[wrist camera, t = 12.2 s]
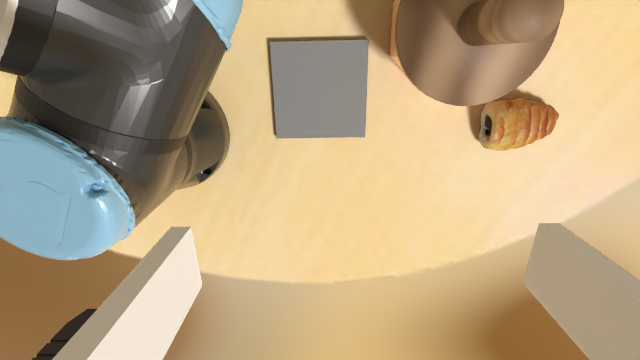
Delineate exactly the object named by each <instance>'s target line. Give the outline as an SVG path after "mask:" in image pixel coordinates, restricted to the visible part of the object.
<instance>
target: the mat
mask: <svg viewBox="0 0 640 360" xmlns="http://www.w3.org/2000/svg"><path fill="white" fill-rule="evenodd" d="M368 41H369V40H328V41H281V42H270V54H271V68H272V82H273V96H274V109H275V123H276V137H277V138H329V137H365V126H366V98H367V70H368Z"/></svg>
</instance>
